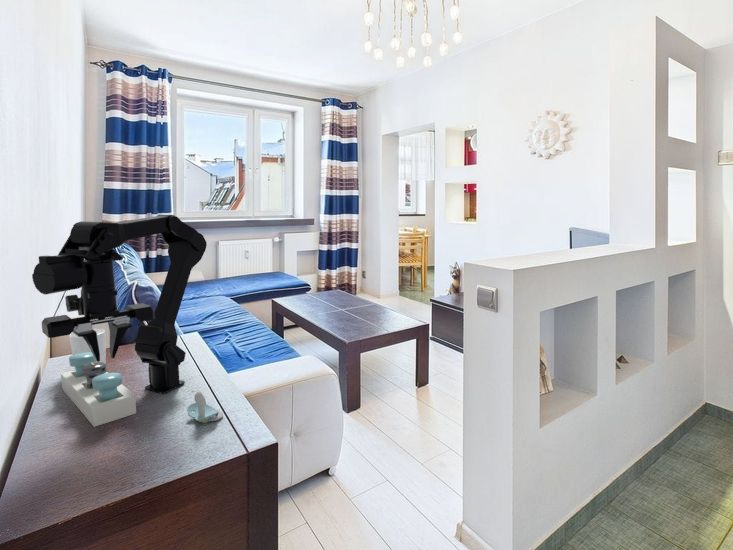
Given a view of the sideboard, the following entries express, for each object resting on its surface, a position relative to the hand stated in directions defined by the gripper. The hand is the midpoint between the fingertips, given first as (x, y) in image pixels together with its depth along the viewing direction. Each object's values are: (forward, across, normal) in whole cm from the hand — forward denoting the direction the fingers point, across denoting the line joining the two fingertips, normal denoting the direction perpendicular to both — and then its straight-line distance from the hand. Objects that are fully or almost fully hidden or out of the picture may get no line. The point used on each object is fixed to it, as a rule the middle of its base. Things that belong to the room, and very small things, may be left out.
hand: (105, 359), depth 87 cm
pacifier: (+12, -13, +16) cm, 24 cm away
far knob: (+8, 0, -18) cm, 20 cm away
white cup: (+12, -4, -31) cm, 34 cm away
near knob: (+8, 0, 0) cm, 8 cm away
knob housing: (+12, 0, -9) cm, 15 cm away
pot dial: (+8, 0, -9) cm, 12 cm away
